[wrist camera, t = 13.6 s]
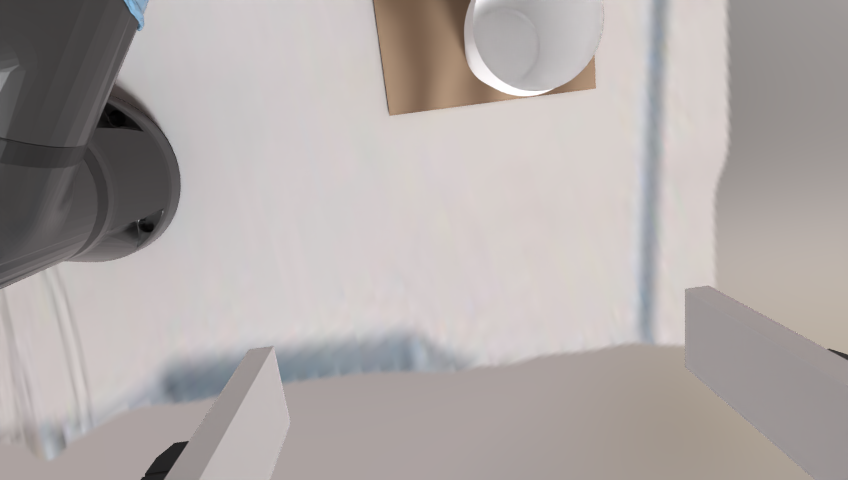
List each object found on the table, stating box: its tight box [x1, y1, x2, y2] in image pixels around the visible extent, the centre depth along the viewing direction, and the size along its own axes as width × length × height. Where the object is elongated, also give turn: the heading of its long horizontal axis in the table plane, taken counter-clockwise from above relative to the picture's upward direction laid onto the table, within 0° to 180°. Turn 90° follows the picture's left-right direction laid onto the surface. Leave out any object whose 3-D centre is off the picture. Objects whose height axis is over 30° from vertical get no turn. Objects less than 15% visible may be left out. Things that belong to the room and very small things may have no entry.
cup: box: [464, 0, 604, 96], centre depth 38 cm, size 9×9×12 cm
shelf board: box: [374, 0, 596, 115], centre depth 42 cm, size 19×11×4 cm, turn 97°
